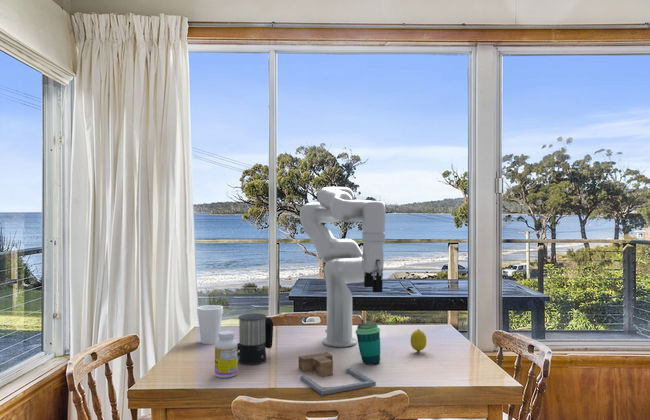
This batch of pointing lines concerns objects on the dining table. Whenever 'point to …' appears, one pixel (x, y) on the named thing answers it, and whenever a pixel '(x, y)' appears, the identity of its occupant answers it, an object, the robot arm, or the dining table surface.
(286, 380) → the dining table surface
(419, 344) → the lemon
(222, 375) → the supplement bottle
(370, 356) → the cup
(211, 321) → the foam cup
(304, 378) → the grey u-shaped bar
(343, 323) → the robot arm
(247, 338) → the milk frother
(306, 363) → the t block
